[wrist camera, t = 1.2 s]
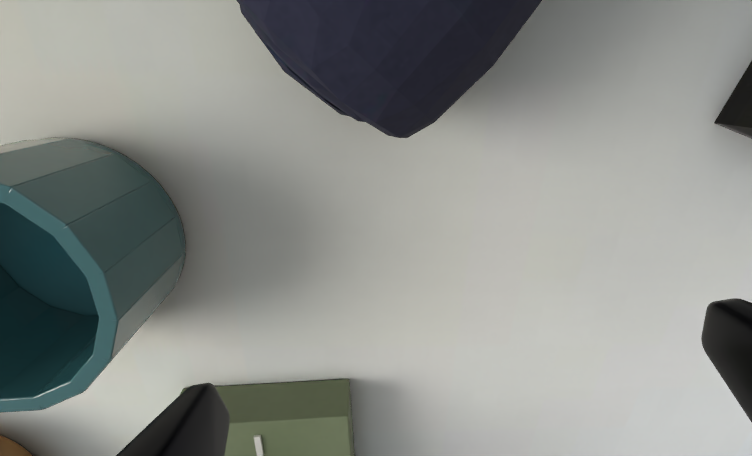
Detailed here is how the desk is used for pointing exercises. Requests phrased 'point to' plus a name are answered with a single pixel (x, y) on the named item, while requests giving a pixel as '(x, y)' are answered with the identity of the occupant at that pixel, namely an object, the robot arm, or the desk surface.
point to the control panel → (289, 419)
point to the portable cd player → (739, 107)
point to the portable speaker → (387, 52)
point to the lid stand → (11, 448)
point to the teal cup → (76, 264)
